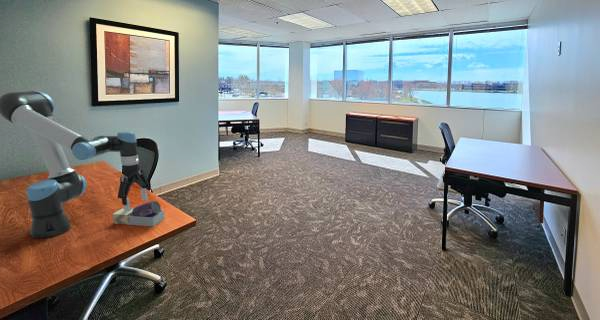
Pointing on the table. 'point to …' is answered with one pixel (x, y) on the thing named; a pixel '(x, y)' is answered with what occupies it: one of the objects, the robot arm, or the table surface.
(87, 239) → the table surface
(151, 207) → the beverage can
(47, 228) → the robot arm
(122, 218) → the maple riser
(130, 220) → the cradle tray
